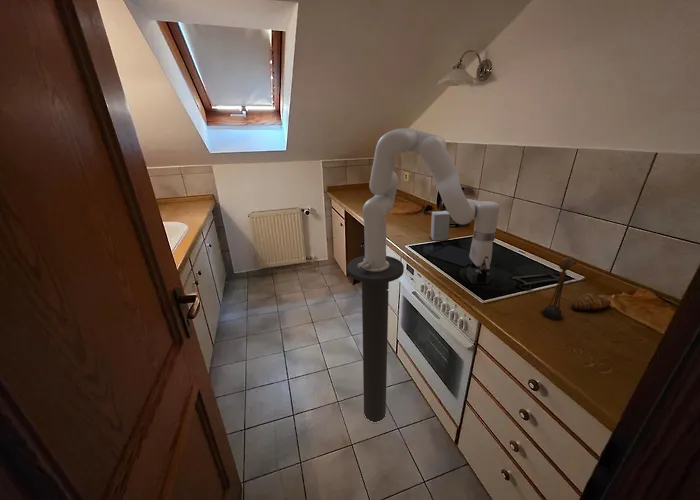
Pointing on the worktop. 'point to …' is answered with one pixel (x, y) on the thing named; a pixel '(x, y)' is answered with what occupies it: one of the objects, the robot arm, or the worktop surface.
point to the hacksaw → (538, 281)
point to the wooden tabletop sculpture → (558, 290)
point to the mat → (453, 255)
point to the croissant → (590, 302)
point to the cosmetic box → (440, 225)
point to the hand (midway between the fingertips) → (477, 277)
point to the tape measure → (475, 275)
